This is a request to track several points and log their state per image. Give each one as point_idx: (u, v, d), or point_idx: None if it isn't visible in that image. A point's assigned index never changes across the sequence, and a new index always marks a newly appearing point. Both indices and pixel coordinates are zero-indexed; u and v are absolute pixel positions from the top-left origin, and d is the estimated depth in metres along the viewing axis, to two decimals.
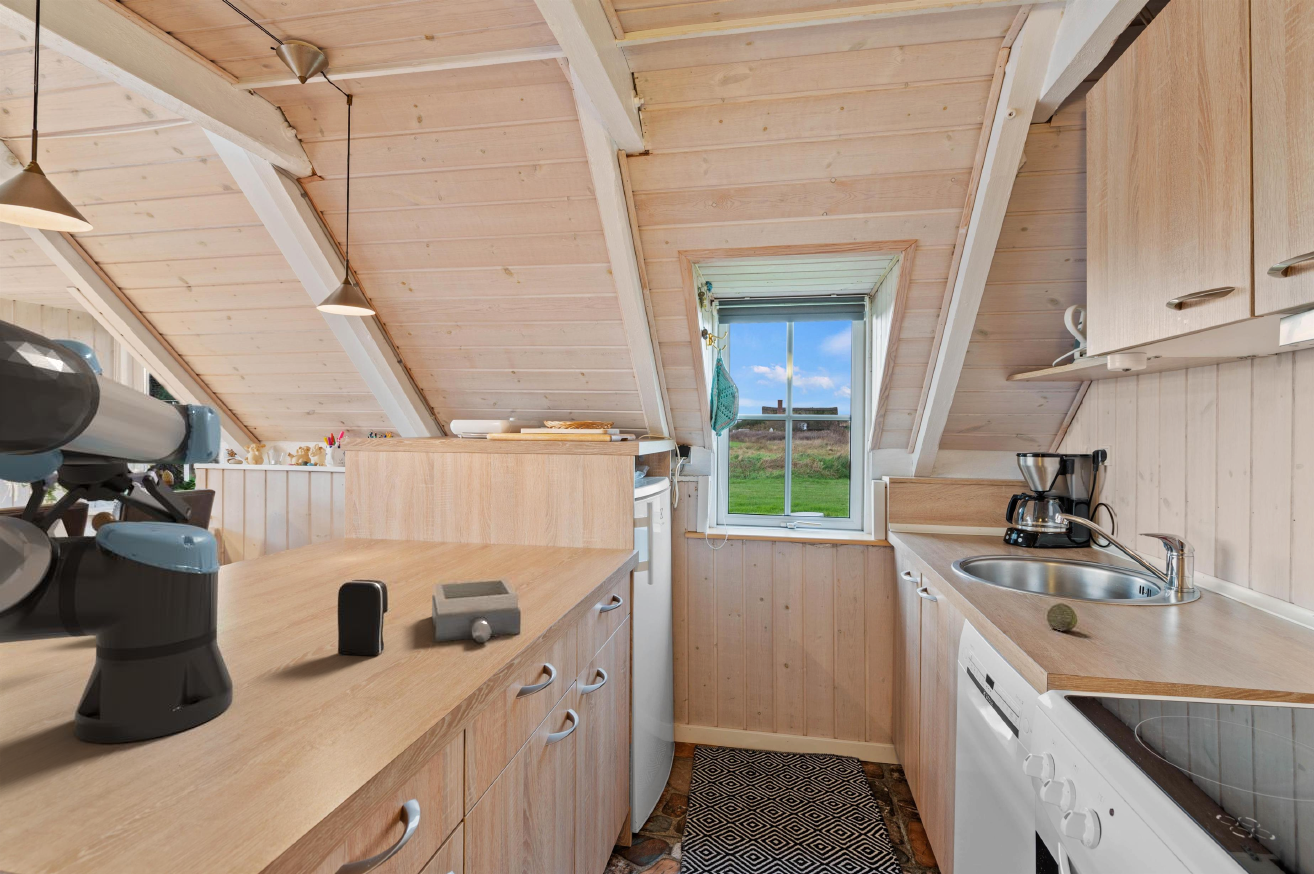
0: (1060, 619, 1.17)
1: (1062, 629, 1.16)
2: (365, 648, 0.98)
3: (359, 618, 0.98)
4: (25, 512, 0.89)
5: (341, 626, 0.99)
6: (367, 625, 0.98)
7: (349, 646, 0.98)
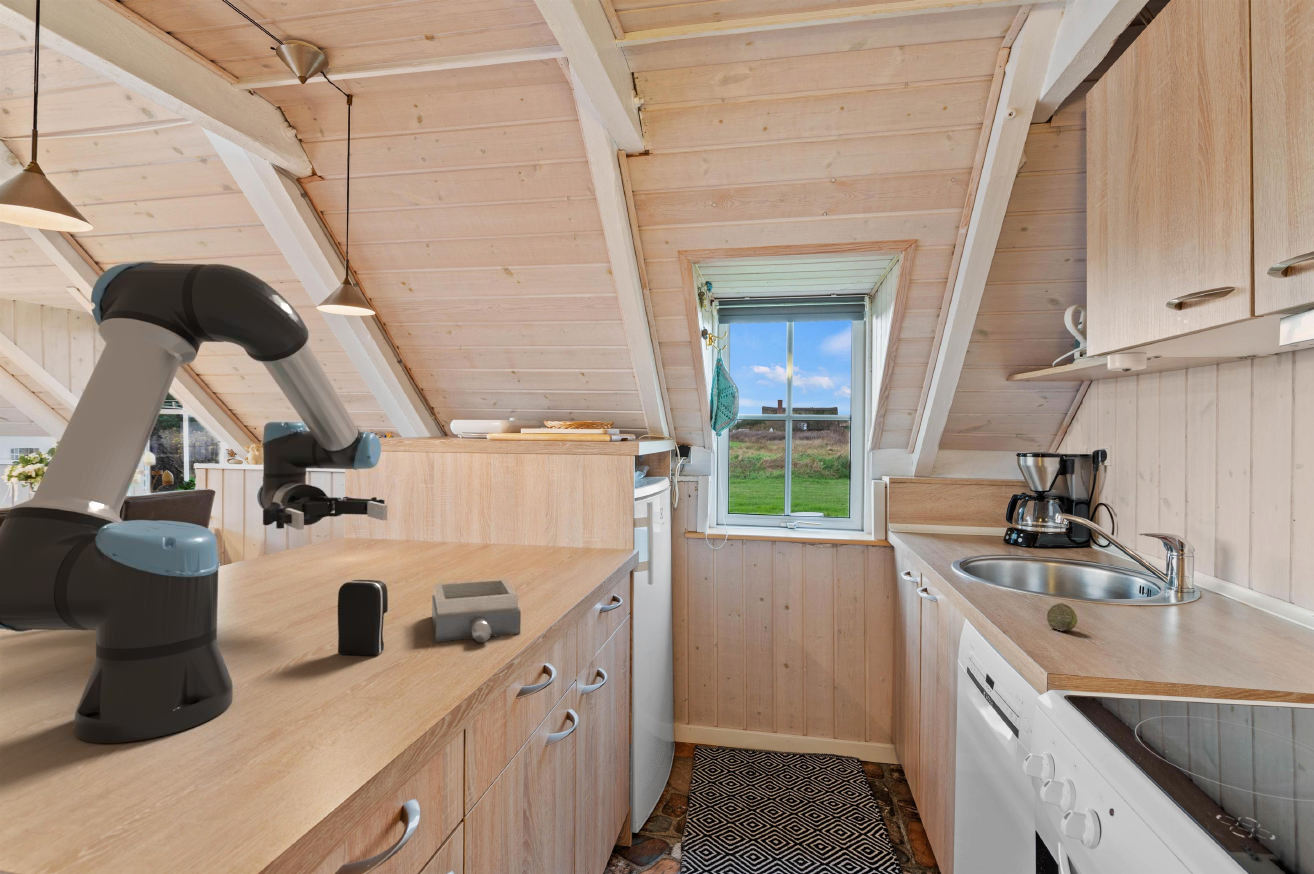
0: (1060, 619, 1.17)
1: (1062, 629, 1.16)
2: (365, 648, 0.98)
3: (359, 618, 0.98)
4: (267, 507, 1.07)
5: (341, 626, 0.99)
6: (367, 625, 0.98)
7: (349, 646, 0.98)
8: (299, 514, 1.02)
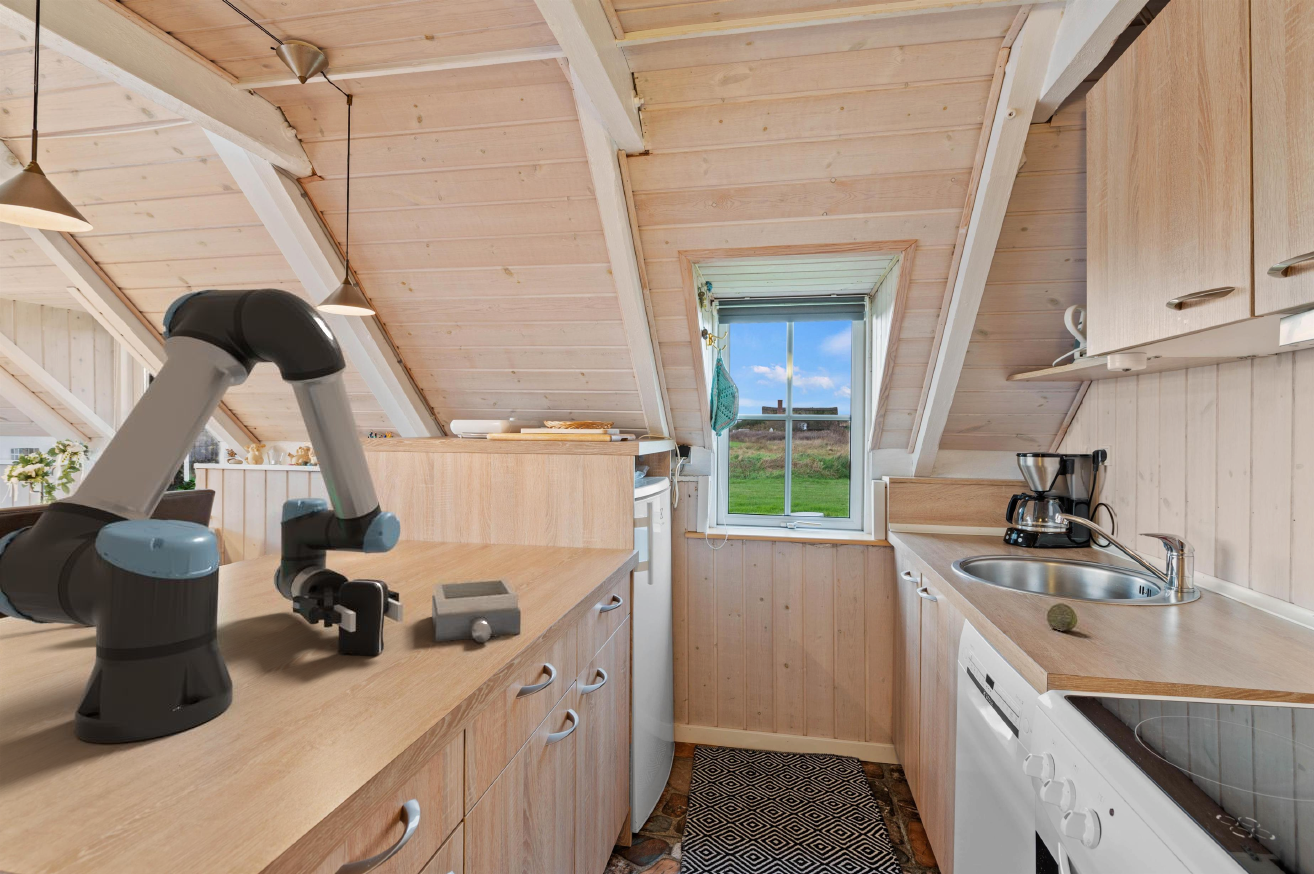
0: (1060, 619, 1.17)
1: (1062, 629, 1.16)
2: (365, 648, 0.98)
3: (359, 618, 0.98)
4: (307, 604, 0.99)
5: None
6: (368, 625, 0.98)
7: (349, 645, 0.98)
8: (351, 615, 0.94)
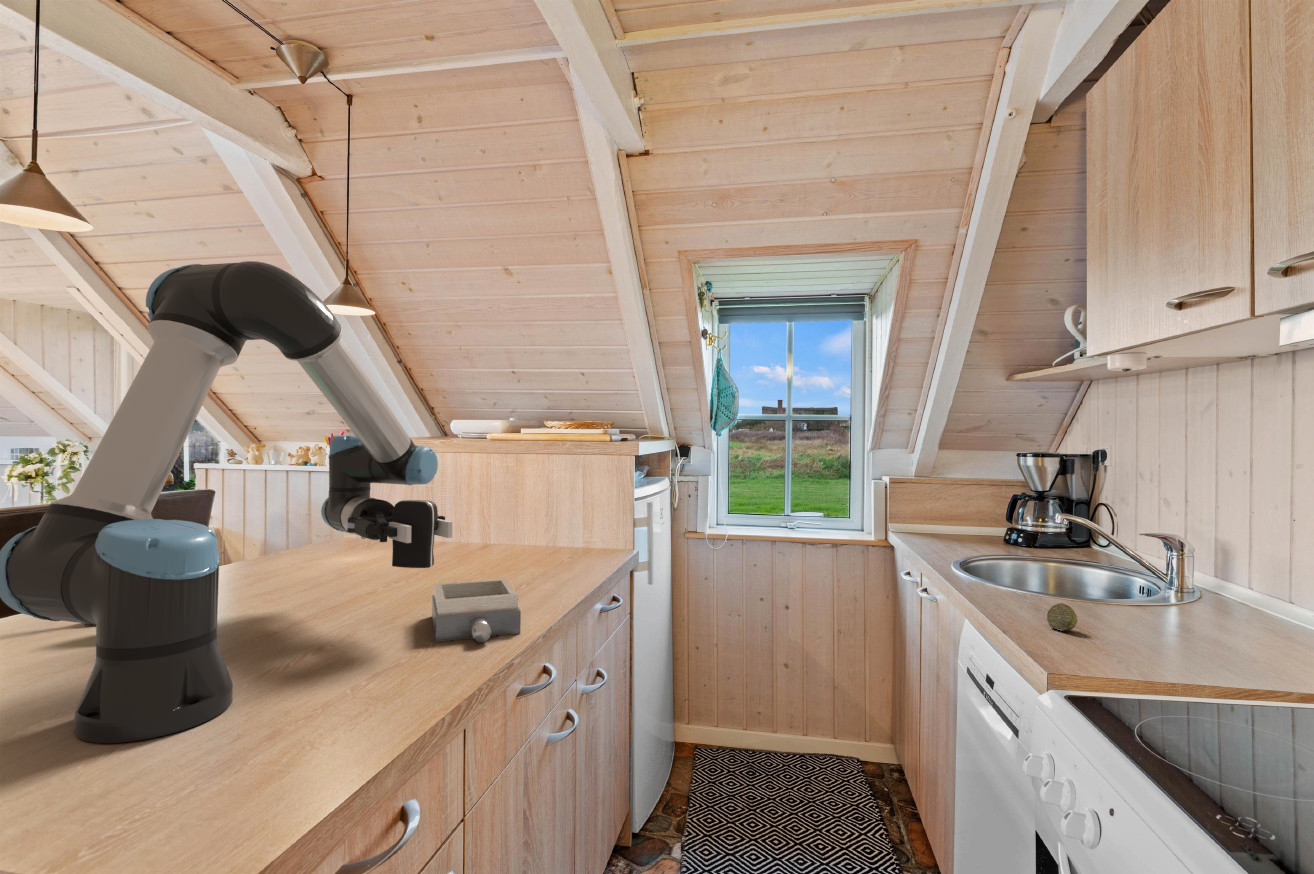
0: (1060, 619, 1.17)
1: (1062, 629, 1.16)
2: (418, 561, 1.06)
3: (412, 533, 1.06)
4: (363, 521, 1.07)
5: (395, 541, 1.06)
6: (420, 540, 1.06)
7: (403, 559, 1.06)
8: (407, 527, 1.01)
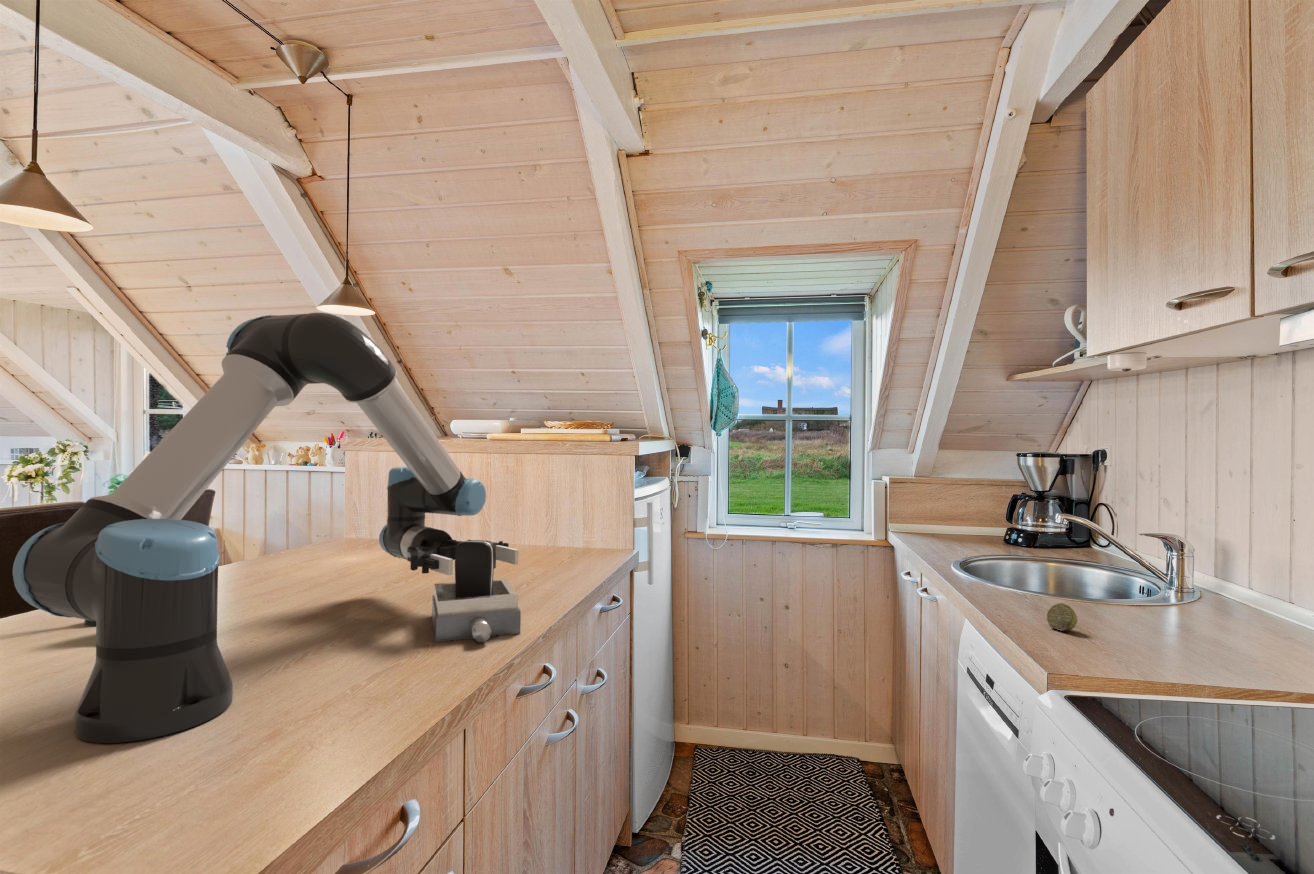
0: (1060, 619, 1.17)
1: (1062, 629, 1.16)
2: None
3: (473, 572, 1.14)
4: (411, 553, 1.14)
5: (458, 579, 1.14)
6: (481, 578, 1.14)
7: (465, 596, 1.14)
8: (449, 560, 1.08)
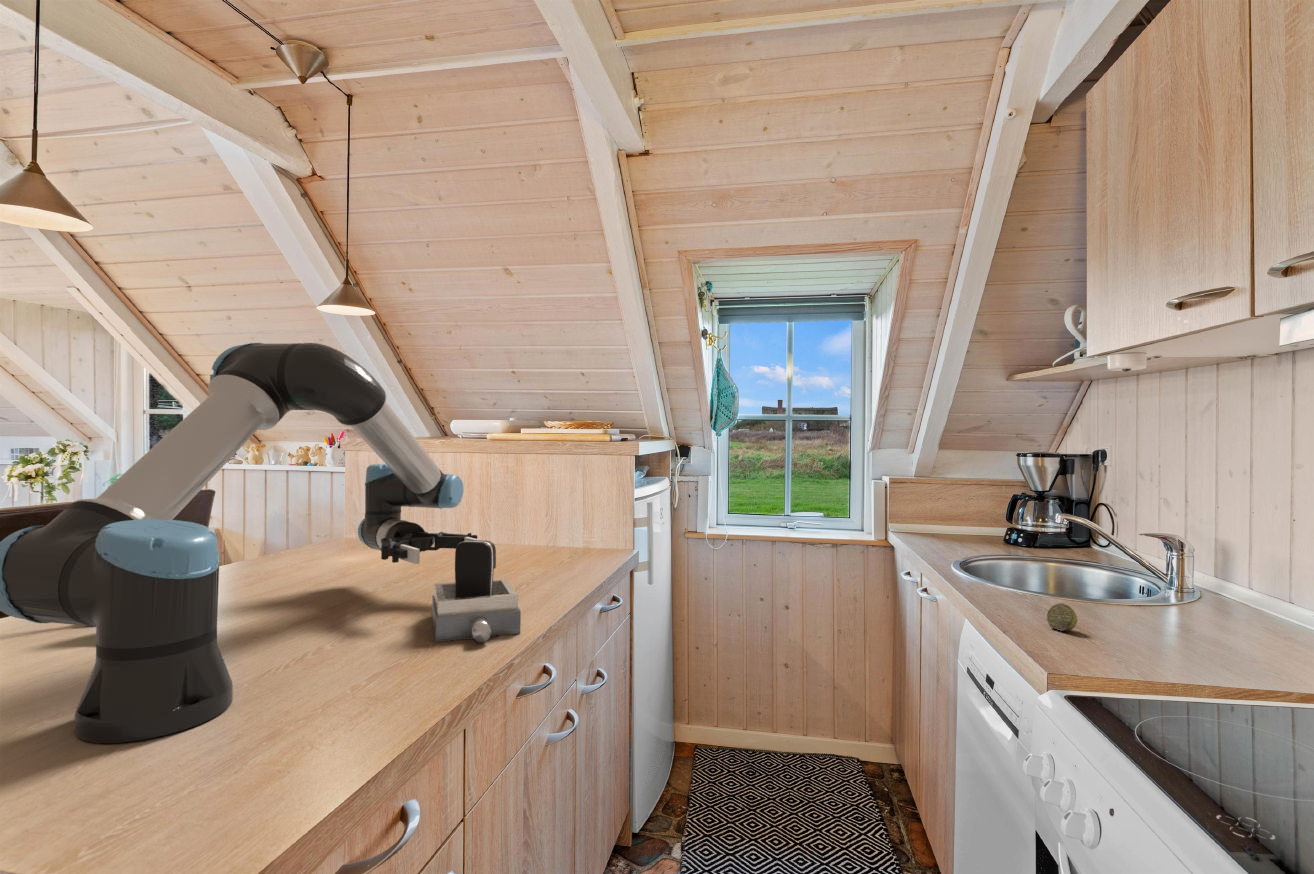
0: (1060, 619, 1.17)
1: (1062, 629, 1.16)
2: None
3: (473, 572, 1.14)
4: (383, 543, 1.22)
5: (458, 579, 1.14)
6: (481, 578, 1.14)
7: (465, 596, 1.14)
8: (416, 550, 1.16)
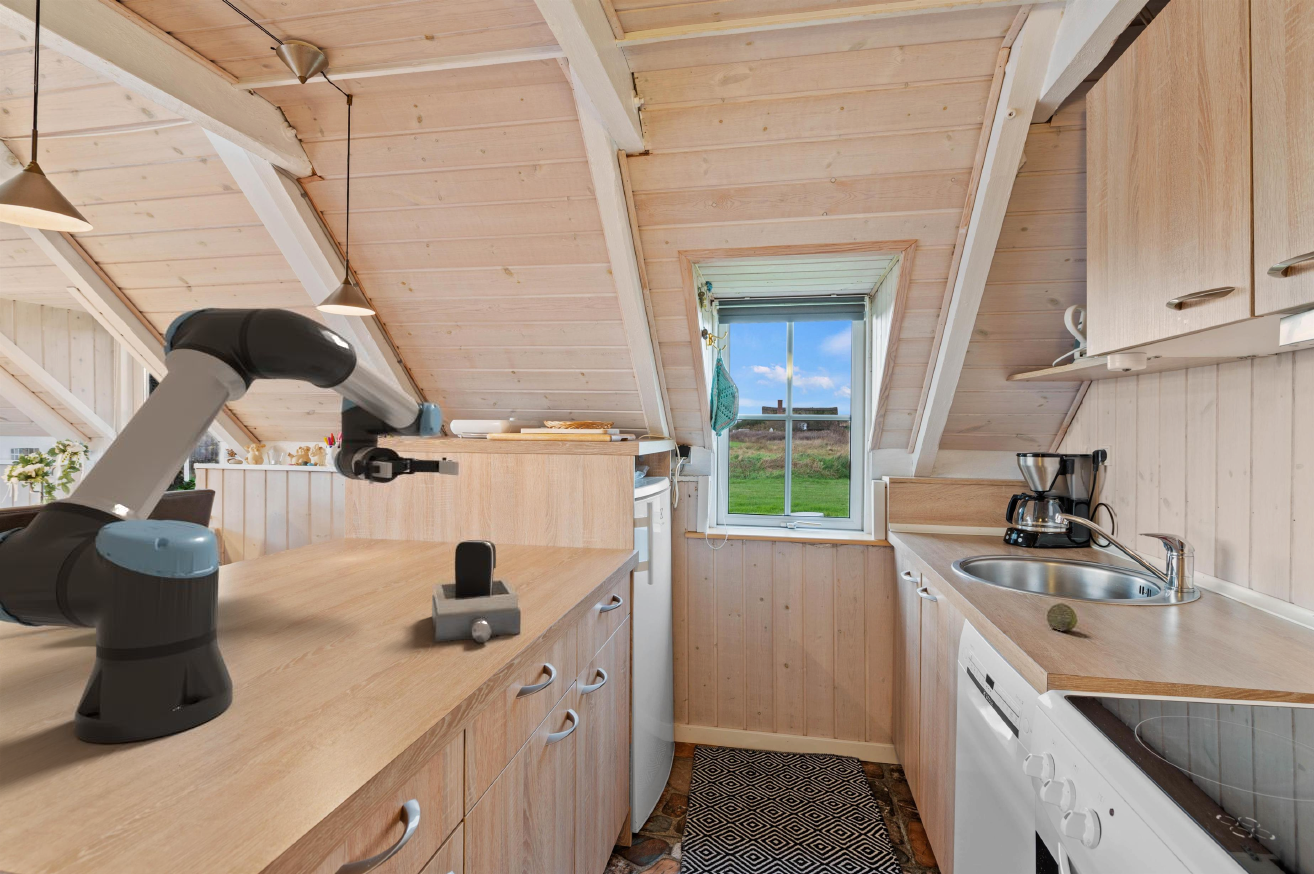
0: (1060, 619, 1.17)
1: (1062, 629, 1.16)
2: None
3: (473, 572, 1.14)
4: None
5: (458, 579, 1.14)
6: (481, 578, 1.14)
7: (465, 596, 1.14)
8: (388, 464, 1.16)
